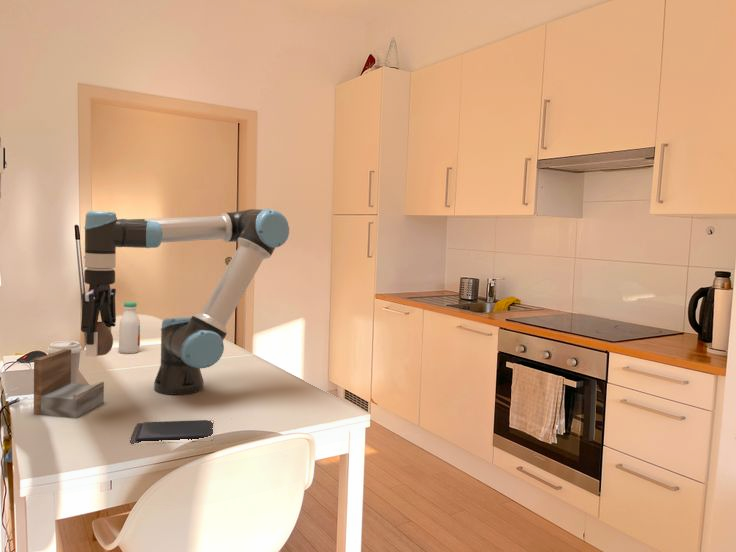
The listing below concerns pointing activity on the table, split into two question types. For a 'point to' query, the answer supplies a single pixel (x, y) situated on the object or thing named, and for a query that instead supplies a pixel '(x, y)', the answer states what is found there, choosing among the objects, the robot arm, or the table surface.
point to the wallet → (171, 430)
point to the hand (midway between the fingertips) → (98, 352)
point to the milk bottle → (129, 330)
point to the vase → (103, 339)
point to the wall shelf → (62, 388)
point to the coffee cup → (75, 355)
